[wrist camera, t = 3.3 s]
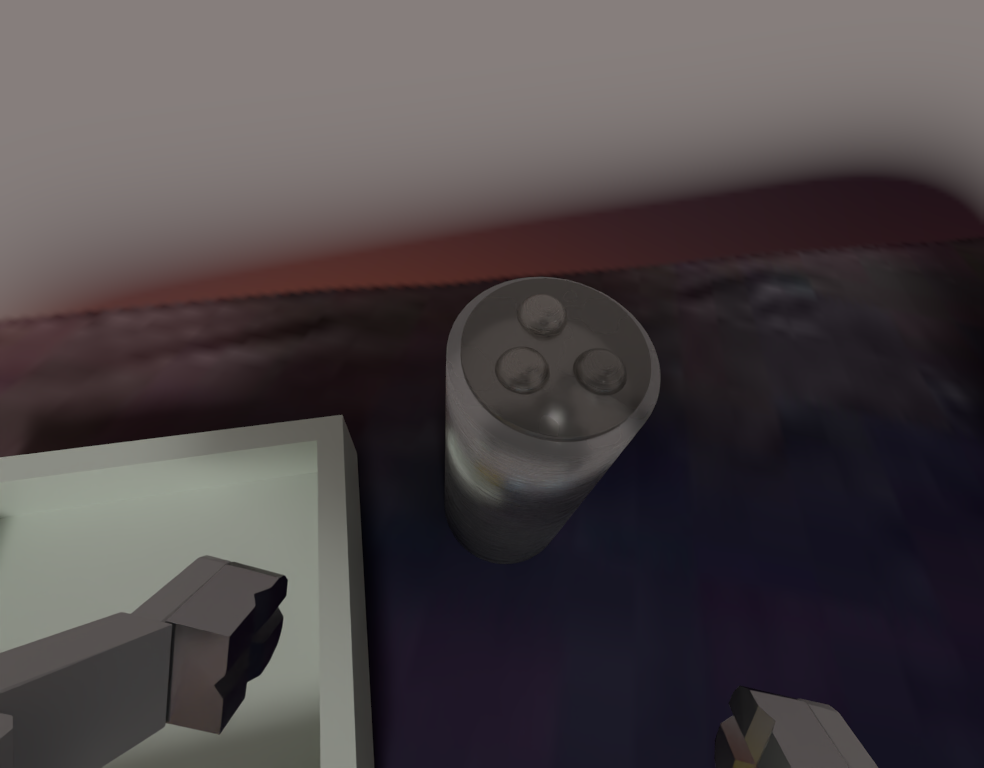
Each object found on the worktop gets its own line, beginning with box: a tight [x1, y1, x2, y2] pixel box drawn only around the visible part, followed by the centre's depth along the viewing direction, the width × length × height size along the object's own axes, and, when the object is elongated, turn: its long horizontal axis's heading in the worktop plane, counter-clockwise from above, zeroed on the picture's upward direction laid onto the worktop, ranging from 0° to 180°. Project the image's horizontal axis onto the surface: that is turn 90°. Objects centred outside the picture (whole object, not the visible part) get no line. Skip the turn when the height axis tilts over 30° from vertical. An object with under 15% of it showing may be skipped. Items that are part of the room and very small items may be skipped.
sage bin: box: [0, 415, 374, 768], centre depth 17 cm, size 15×14×4 cm
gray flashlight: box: [444, 277, 661, 564], centre depth 17 cm, size 6×6×13 cm
